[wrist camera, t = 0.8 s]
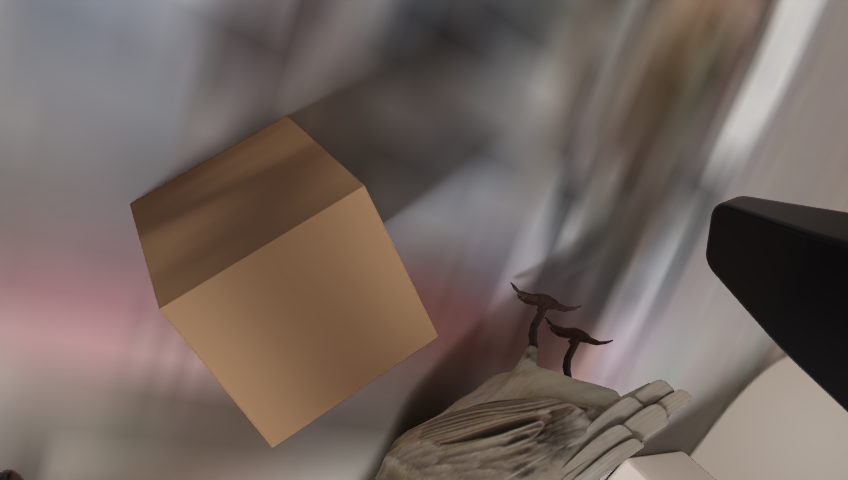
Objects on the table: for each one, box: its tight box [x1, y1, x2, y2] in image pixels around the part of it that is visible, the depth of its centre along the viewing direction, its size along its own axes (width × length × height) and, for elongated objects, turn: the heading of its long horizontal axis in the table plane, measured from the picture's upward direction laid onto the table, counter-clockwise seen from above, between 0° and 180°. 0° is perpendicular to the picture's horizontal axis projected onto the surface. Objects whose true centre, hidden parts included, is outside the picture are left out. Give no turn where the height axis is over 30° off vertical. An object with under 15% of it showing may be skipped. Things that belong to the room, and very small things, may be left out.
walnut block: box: [130, 116, 438, 448], centre depth 18 cm, size 5×5×6 cm
